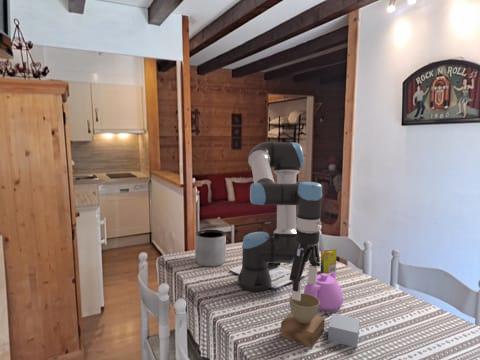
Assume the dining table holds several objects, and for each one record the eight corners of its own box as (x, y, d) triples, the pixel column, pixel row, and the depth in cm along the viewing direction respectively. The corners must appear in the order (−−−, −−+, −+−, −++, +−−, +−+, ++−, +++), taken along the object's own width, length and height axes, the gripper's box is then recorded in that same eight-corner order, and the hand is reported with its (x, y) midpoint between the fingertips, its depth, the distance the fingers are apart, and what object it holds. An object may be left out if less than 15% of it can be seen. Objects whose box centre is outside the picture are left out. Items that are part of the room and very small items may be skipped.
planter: (231, 260, 180) (232, 232, 178) (213, 270, 166) (213, 239, 164) (207, 254, 188) (208, 227, 186) (188, 263, 175) (188, 234, 173)
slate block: (328, 340, 110) (328, 326, 110) (332, 326, 119) (332, 313, 118) (356, 347, 107) (357, 333, 106) (358, 333, 115) (359, 319, 114)
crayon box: (332, 269, 171) (333, 247, 170) (336, 271, 168) (337, 249, 167) (319, 270, 169) (321, 248, 167) (323, 273, 166) (324, 250, 164)
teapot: (330, 320, 123) (332, 289, 121) (292, 306, 132) (293, 277, 131) (351, 298, 140) (353, 271, 139) (316, 287, 149) (317, 261, 148)
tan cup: (318, 330, 107) (320, 308, 107) (287, 325, 109) (288, 305, 108) (318, 314, 117) (319, 294, 116) (289, 310, 119) (290, 291, 118)
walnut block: (280, 336, 112) (281, 322, 112) (294, 321, 121) (295, 308, 121) (312, 347, 106) (312, 333, 106) (323, 331, 115) (324, 317, 115)
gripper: (303, 242, 97) (299, 310, 100) (331, 223, 118) (327, 280, 121) (280, 237, 101) (277, 303, 104) (311, 219, 122) (308, 275, 125)
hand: (304, 291), depth 112 cm, fingers open, 13 cm apart
